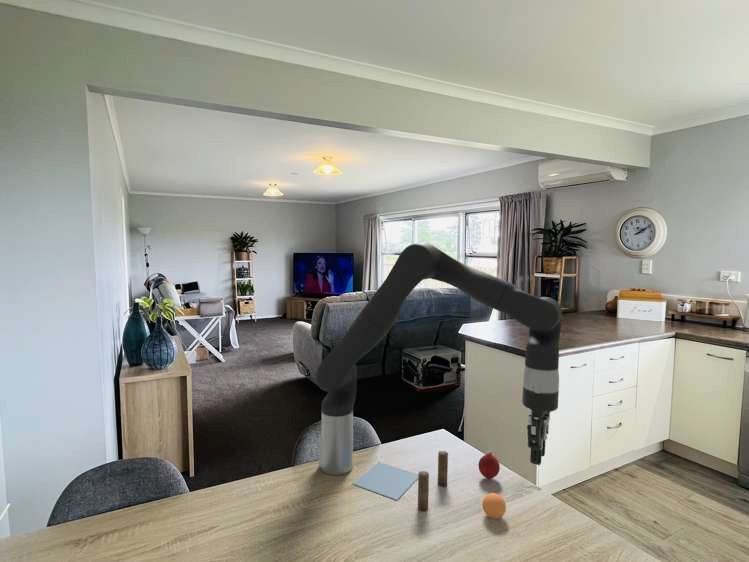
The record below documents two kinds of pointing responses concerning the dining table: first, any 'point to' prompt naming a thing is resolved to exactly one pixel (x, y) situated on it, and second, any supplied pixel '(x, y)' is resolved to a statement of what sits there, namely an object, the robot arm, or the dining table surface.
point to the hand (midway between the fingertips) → (537, 458)
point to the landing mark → (387, 480)
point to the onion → (489, 466)
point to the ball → (494, 505)
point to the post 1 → (423, 490)
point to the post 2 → (442, 468)
